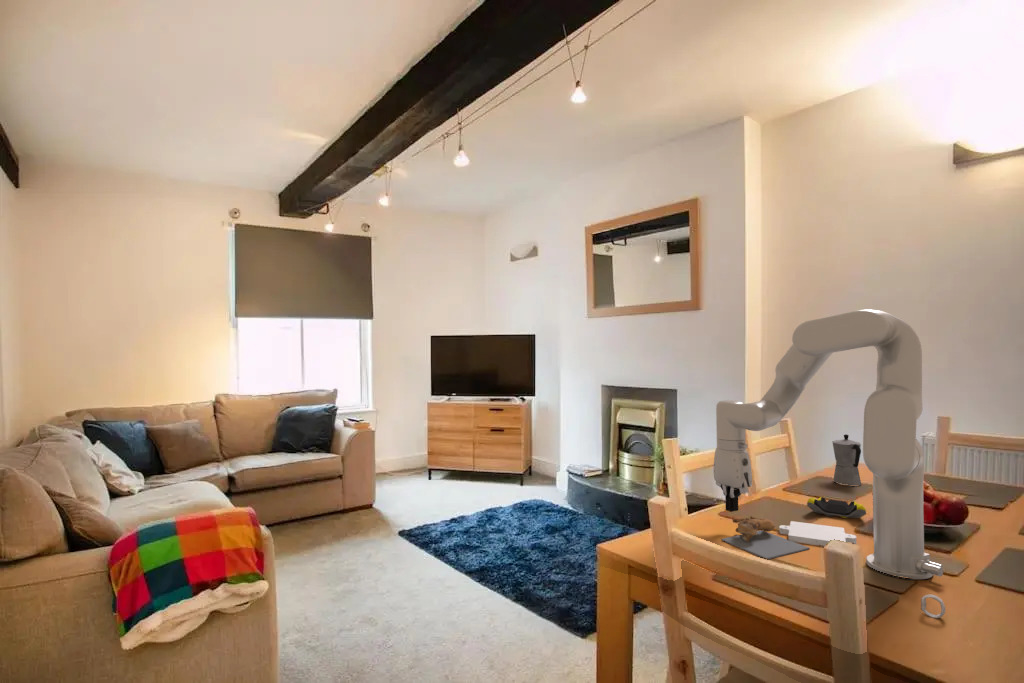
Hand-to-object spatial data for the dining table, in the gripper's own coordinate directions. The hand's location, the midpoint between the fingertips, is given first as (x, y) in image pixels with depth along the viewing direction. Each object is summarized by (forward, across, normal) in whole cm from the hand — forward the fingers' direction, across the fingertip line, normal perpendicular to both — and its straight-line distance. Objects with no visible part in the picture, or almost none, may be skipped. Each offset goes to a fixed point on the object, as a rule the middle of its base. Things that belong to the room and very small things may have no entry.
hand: (732, 510), depth 152 cm
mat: (+6, -12, +1) cm, 13 cm away
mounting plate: (+6, -14, -16) cm, 22 cm away
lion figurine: (+4, -2, -2) cm, 5 cm away
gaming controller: (+6, -5, -37) cm, 38 cm away
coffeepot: (+6, +17, -75) cm, 77 cm away
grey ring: (+6, -52, +3) cm, 52 cm away
